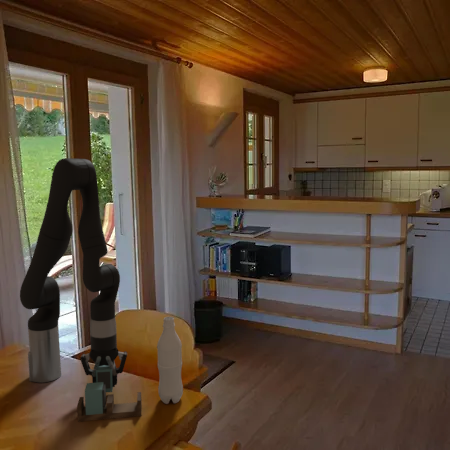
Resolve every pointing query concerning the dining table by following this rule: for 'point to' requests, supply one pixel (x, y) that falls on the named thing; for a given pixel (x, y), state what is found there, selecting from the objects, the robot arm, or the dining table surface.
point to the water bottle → (169, 363)
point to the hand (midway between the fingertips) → (105, 386)
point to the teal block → (105, 377)
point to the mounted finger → (95, 398)
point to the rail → (111, 409)
